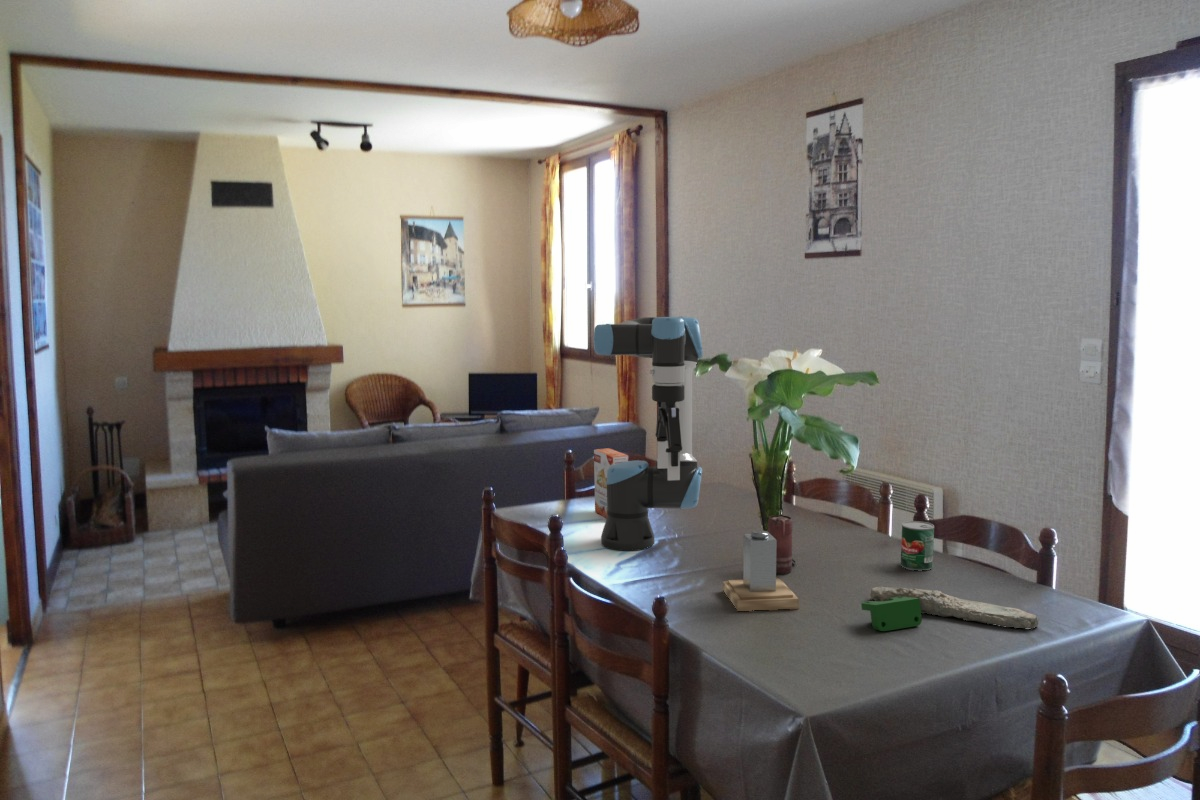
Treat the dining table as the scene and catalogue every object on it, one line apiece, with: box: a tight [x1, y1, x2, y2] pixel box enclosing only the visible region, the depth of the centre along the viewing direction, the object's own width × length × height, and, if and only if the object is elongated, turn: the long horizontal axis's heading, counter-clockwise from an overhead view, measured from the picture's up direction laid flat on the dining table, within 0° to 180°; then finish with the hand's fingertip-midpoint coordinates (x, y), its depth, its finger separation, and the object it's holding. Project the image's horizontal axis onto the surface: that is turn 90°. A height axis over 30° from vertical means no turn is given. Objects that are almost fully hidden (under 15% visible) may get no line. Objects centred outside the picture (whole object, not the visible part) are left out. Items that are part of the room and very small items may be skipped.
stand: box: [722, 577, 800, 612], centre depth 208 cm, size 14×14×3 cm
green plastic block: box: [860, 597, 923, 632], centre depth 192 cm, size 12×6×9 cm, turn 104°
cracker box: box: [593, 447, 629, 519], centre depth 284 cm, size 14×6×21 cm, turn 25°
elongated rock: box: [869, 586, 1039, 629], centre depth 198 cm, size 35×5×10 cm
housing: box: [742, 529, 777, 592], centre depth 207 cm, size 6×6×13 cm
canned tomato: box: [900, 520, 935, 572], centre depth 231 cm, size 8×8×11 cm
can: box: [767, 514, 793, 575], centre depth 228 cm, size 6×6×14 cm
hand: (668, 474), depth 210 cm, fingers open, 13 cm apart
